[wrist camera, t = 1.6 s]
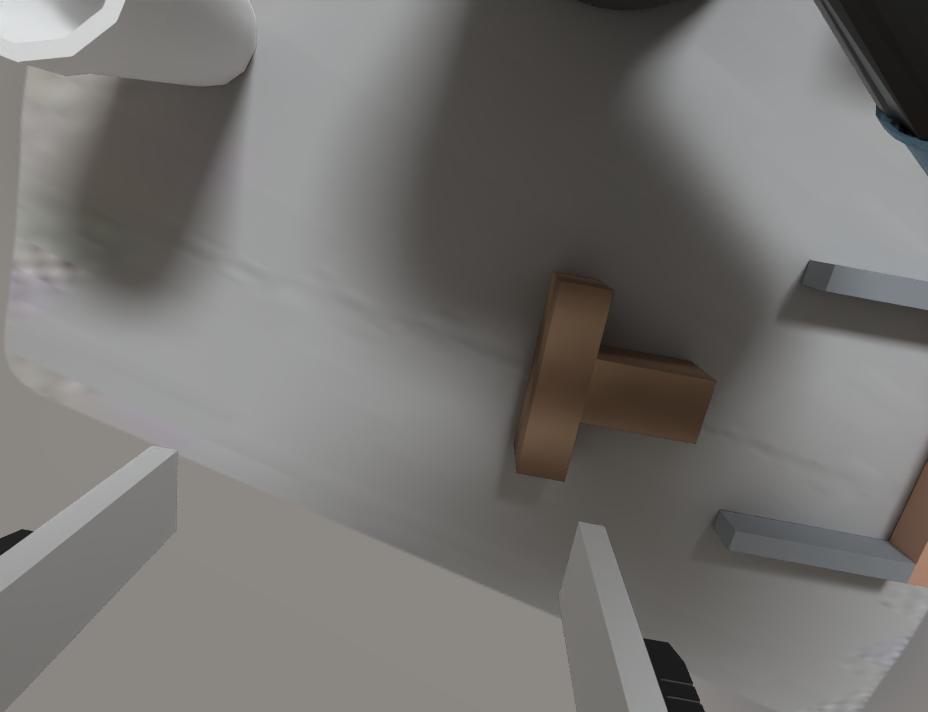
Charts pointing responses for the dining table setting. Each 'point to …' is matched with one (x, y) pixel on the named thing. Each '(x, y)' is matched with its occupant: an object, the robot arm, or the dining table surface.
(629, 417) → the t block
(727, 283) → the dining table surface
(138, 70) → the foam cup
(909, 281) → the push bay
